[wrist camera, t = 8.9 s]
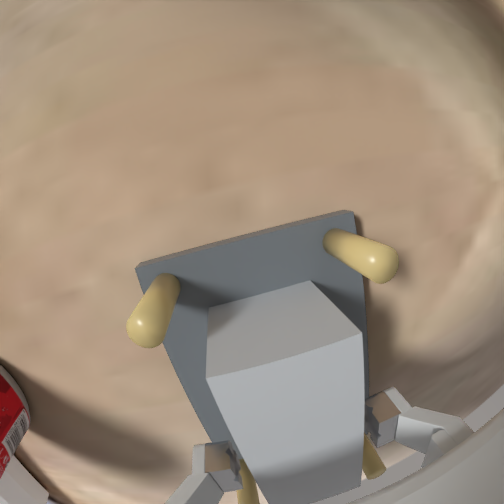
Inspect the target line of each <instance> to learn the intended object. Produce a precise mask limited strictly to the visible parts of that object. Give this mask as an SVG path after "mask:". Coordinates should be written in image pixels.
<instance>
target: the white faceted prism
mask: <svg viewBox="0 0 504 504" xmlns="http://www.w3.org/2000/svg"><path fill="white" fill-rule="evenodd" d="M48 496H49V493H48V492H47V491H46V490H45V489H44V488H43V487H42V486H41V485H40V484H39V483H38V482H37V481H36V480H35V479H34V478H33V476H32V475H31V474H30V473H29V472H28V471H27V470H26V469H25V468H24V467H23V466H22V464H21V463H20V462H19V461H18V460H17V459H16V457H15V456H14V455H13V456H12V458H11V459H10V461H9V463H8V465H7V467H6V469H5V471H4V473H3V475H2V477H1V479H0V504H46V503H47V500H48Z"/></svg>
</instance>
